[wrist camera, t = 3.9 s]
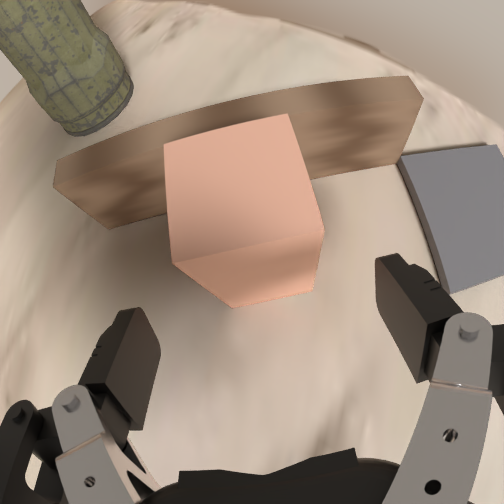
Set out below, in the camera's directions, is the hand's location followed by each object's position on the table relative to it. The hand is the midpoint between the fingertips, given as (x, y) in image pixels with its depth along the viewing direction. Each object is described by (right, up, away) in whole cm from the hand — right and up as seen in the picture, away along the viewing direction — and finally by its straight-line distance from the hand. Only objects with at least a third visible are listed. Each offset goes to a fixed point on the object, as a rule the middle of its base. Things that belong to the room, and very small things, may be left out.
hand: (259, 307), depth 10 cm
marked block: (+1, +1, +10) cm, 10 cm away
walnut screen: (-1, +7, +12) cm, 14 cm away
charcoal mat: (+16, +5, +9) cm, 19 cm away
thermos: (-16, +17, +18) cm, 29 cm away
